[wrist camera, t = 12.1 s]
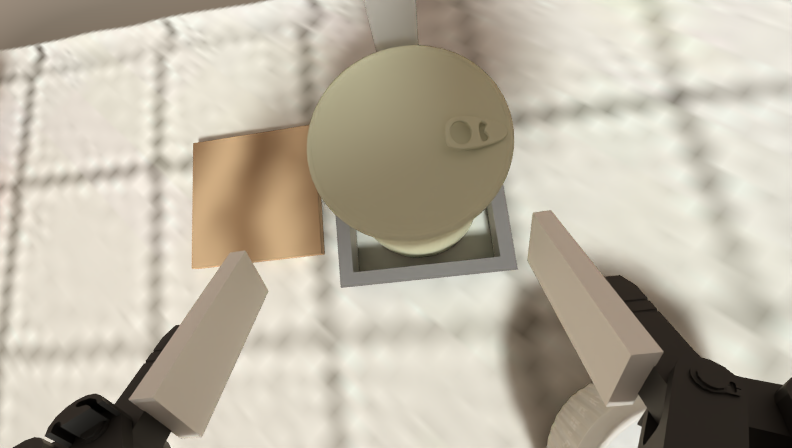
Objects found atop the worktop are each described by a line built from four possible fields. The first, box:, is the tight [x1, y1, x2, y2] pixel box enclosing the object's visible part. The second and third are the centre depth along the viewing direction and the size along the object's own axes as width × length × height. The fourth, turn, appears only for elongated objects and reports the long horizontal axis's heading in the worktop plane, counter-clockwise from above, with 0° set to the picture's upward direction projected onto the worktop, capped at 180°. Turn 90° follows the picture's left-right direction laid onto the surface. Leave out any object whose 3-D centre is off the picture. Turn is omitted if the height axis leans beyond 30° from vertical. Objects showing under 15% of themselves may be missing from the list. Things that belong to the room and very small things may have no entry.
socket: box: [336, 0, 518, 288], centre depth 18 cm, size 12×16×14 cm
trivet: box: [192, 125, 325, 269], centre depth 26 cm, size 11×11×1 cm
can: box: [307, 45, 514, 257], centre depth 19 cm, size 9×9×12 cm
